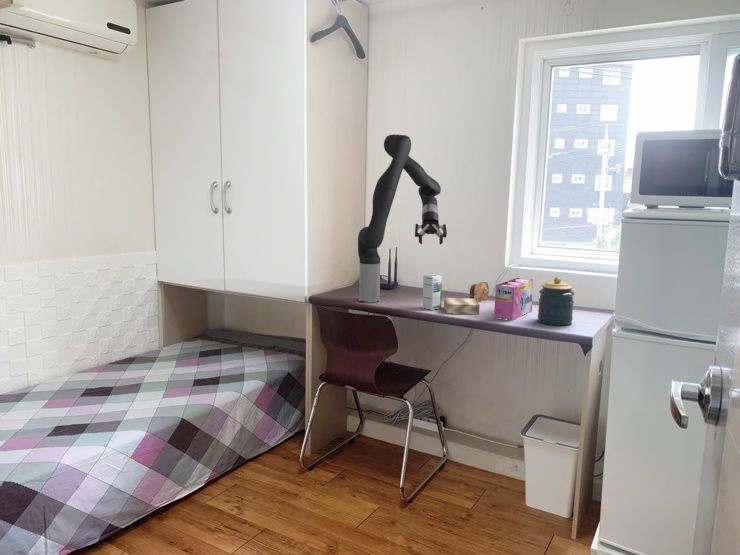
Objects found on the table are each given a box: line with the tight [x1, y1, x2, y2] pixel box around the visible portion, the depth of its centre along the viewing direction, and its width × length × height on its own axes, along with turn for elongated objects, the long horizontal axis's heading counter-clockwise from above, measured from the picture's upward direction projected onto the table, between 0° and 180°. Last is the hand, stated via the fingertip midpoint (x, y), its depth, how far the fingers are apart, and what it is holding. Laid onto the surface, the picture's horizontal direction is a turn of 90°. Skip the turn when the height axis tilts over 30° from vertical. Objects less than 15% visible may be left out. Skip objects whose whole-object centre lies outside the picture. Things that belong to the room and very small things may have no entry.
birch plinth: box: [443, 297, 480, 315], centre depth 233 cm, size 13×13×4 cm
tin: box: [469, 281, 490, 303], centre depth 254 cm, size 15×3×8 cm, turn 143°
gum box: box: [493, 277, 534, 321], centre depth 227 cm, size 24×8×14 cm, turn 144°
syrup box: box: [422, 273, 443, 311], centre depth 235 cm, size 6×6×14 cm
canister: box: [537, 276, 575, 326], centre depth 214 cm, size 13×13×18 cm
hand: (430, 243), depth 246 cm, fingers open, 8 cm apart
